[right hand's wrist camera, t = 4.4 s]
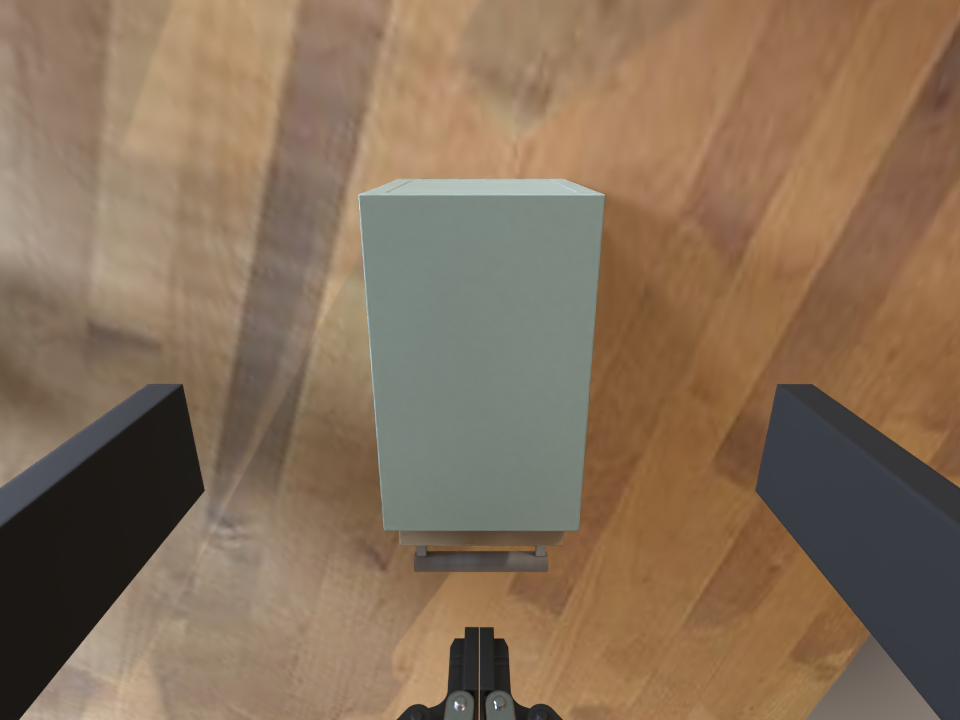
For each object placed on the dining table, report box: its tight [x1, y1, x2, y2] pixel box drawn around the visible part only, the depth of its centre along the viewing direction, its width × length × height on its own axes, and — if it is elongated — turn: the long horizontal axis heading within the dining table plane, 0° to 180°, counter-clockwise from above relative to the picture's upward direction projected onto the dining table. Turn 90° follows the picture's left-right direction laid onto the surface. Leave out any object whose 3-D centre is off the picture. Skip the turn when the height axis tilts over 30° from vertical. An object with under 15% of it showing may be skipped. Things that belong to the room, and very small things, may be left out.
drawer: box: [399, 531, 564, 572], centre depth 33 cm, size 21×9×10 cm, turn 0°
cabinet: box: [358, 179, 605, 531], centre depth 31 cm, size 17×10×12 cm, turn 0°
